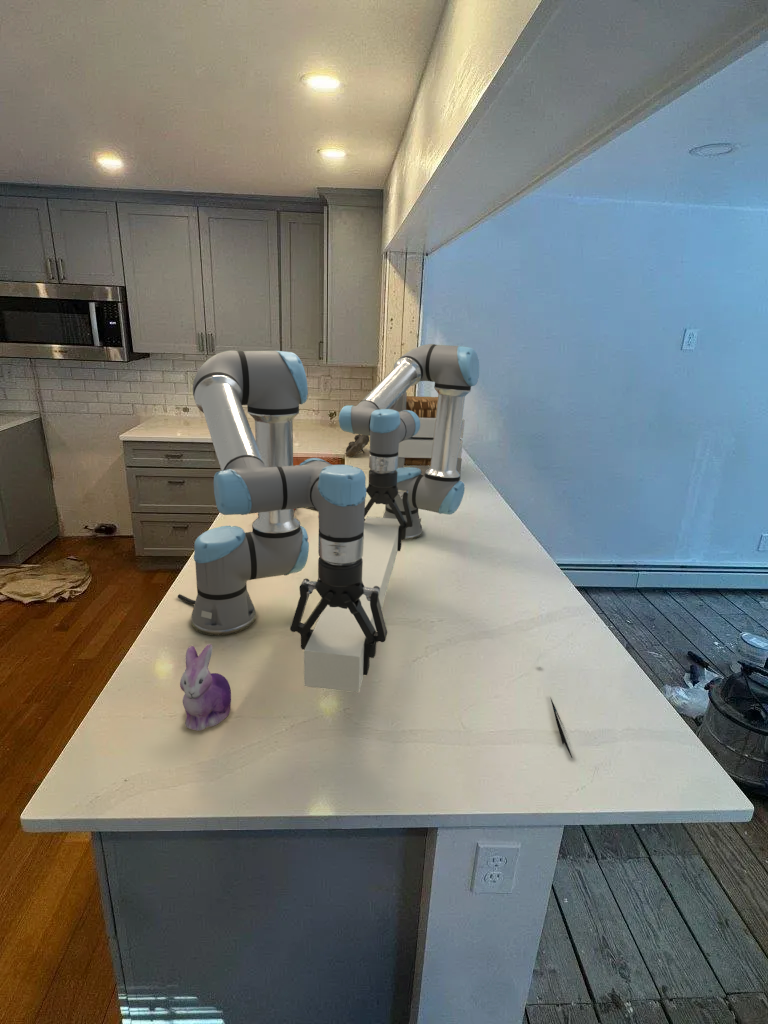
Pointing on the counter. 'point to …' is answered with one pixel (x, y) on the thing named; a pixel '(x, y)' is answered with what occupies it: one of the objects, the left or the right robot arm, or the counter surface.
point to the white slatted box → (421, 432)
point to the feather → (560, 728)
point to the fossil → (357, 445)
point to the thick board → (351, 616)
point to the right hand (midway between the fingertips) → (380, 547)
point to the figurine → (204, 691)
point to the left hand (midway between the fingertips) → (337, 667)
